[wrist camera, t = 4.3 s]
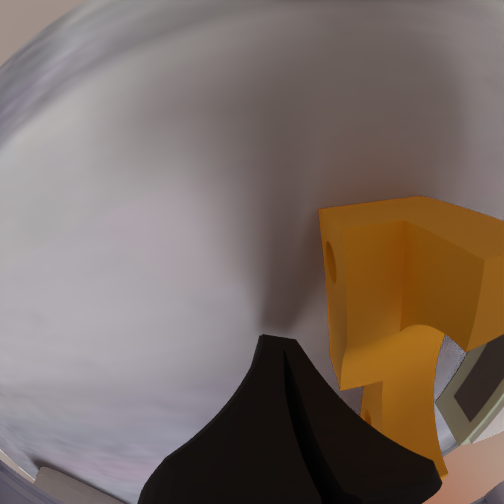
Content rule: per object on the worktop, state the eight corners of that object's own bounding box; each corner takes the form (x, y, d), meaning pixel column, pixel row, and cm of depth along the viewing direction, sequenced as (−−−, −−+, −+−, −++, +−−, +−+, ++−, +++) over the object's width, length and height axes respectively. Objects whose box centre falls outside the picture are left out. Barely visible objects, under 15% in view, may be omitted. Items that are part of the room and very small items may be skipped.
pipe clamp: (316, 208, 10) (402, 282, 3) (419, 195, 9) (548, 239, 3) (329, 423, 13) (348, 518, 7) (398, 404, 13) (434, 488, 7)
